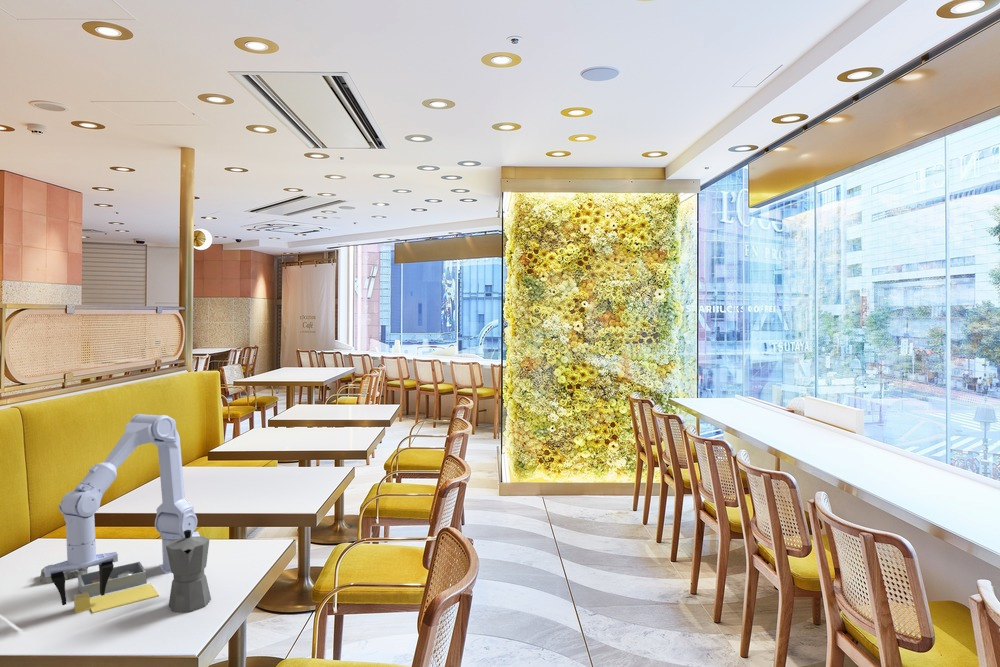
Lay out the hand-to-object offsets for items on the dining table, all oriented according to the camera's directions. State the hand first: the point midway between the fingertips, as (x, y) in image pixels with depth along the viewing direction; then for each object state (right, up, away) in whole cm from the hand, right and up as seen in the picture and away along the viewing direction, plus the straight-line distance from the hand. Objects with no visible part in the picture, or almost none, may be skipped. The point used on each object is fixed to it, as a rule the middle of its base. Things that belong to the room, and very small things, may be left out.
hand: (83, 598), depth 156 cm
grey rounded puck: (+1, -2, +15) cm, 15 cm away
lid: (+5, -3, +4) cm, 7 cm away
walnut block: (-3, -2, +11) cm, 12 cm away
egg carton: (-18, -3, +20) cm, 27 cm away
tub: (-1, -2, +13) cm, 14 cm away
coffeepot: (+24, -3, +3) cm, 24 cm away
